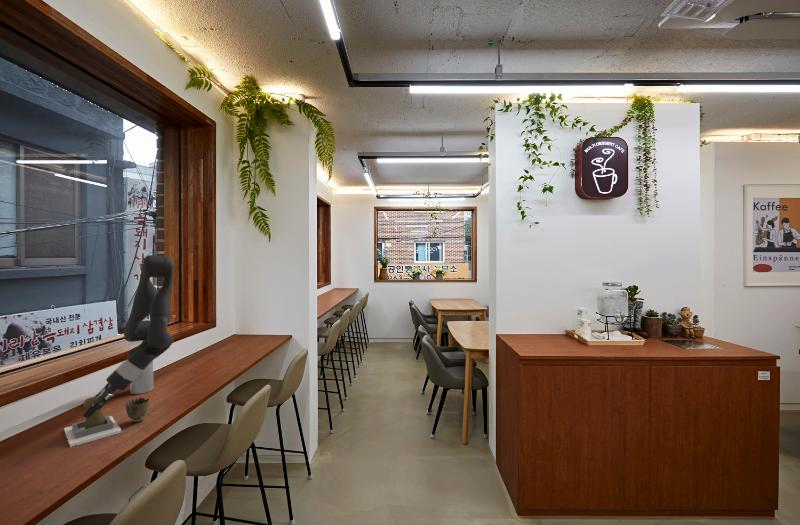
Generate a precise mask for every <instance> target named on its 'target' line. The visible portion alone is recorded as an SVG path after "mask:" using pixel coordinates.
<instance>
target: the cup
mask: <svg viewBox="0 0 800 525" xmlns="http://www.w3.org/2000/svg"><path fill="white" fill-rule="evenodd" d="M149 401H150V398H148V397H147V398H146V399H145V397H143V398H142V397H139V398H137V397H136V398H135V400H134V399H131V400H129V401H126V402H125V409H126V414H127V417H128V418H129V419H131V422H132V423H134V424H137V423H140V422H143V421H144V419H145V417H144V416H146V415H147V413H148V411H149V404H150V403H149Z"/></svg>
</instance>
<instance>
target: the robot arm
mask: <svg viewBox="0 0 800 525" xmlns="http://www.w3.org/2000/svg"><path fill="white" fill-rule="evenodd" d="M174 274H175V261H174V258H173V257H172V256H167V255H155V254H154V255H153V254H151V255H150V254H149V255H146V256H145V257H144V258H143V261H142V264H141V269H140V275H139V281H138V285H137V289H136V292H135V295H134V298H133V301H132V306H131V310H130V313H129V316H128V319H127V321H126V323H125V326H124V331H123V336H124V339H125V341H127V342H129V343H133V342H140V341H142V342H141V343H140V344H138V345H137V346H135V347H133V348H131V349H130V350H129V351H128V358H126V360H125V361H123V362H122V363H121V364H120V365H119V366H118V367H116V369H114V371H113V372H111V373H110V375H109V376H108V377H106V379H105V380H106V382H107V383H106V384H105V385H104V386H103V387H102V389H101V390H99V392H97V393H96V394H95V395H94V397H97V398H96V401H95V402H94V404H92V406H91V407H90V408H89V409H88V410H87V411H86V409H85V408H84V412H83V414H82V417H83V418H85V419H86V418H89V417H90V416H91V415H92V414H93V413H94V412H95V411H96V410H99V409H102V408H103V407H104V406H105V405H107V403H108V402H109V401H110V400H111V399H112V398H114V396H115V394H116V391H117V390H119V391H122V392H123V391H125V390H126V389H128V388H129V387H130V388H129V391H130V392H129V393H130V394H132V395H138V394H145V393H149V392H151V391H153V390H154V388H155V387H154V360H155V359H158V357H160V356H161V355H162V354H164V353H165V352H166V351H168V349H170V347H171V346H172V345H173V343H174V336H173V335H172V334H171V333H170V332H168V325H169V324H170V322H171V299H172V290H173V282H174ZM151 278H163V279H164V280H163V284H162V285H161V286H162V287H161V288H160V289H159V291H158V289H157V288H156V287H155V285H154V284H153V283H152V280H151ZM148 317H149V320H146V318H148ZM99 402H100V403H101V404H100V405H98V403H99Z"/></svg>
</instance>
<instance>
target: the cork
mask: <svg viewBox="0 0 800 525" xmlns="http://www.w3.org/2000/svg"><path fill="white" fill-rule="evenodd" d="M96 398H97V397H95V396H91V397H88V398H86V399H85V400H84V401H83V408H84V409H86V411H87V410H88V409H89V408H90V407H91V406H92V404H94V402H95V401H96ZM100 404H101V403H100V402H99V403H98V405H100ZM86 411H85V412H86ZM104 416H105V415H104V412H103V409H102V408H101V409H99V410H96V411H95V412H94V413H93V414H92V415H91V416H90V417H89V418H85V420H84V421H85V429H88V428H92V427H95V426H99V425H103V424H106V422H105V419H104Z"/></svg>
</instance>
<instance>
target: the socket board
mask: <svg viewBox="0 0 800 525" xmlns="http://www.w3.org/2000/svg"><path fill="white" fill-rule="evenodd" d="M104 419H105V422H106V424H103V425H99V426H95V427H92V428H88V429H85V420H82V421H78V422H75V423H72V424H71V426H67V427H64V430H63V431H64V435H65V437H66V440H67V439H68V440H67V443H68V445H70V446H69V448H73V447H76V446H80V445H83V444H86V443H90V442H93V441H97V440H101V439H104V438H106V437H111V436H115V435H118V434H120V433H122V428H121V427H120V426H119V424H118V423H117V422H116V420H115V419H114V417H113V415H110V416H109V415H108V414H107V415H104ZM75 445H76V446H75ZM72 446H73V447H72Z"/></svg>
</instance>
